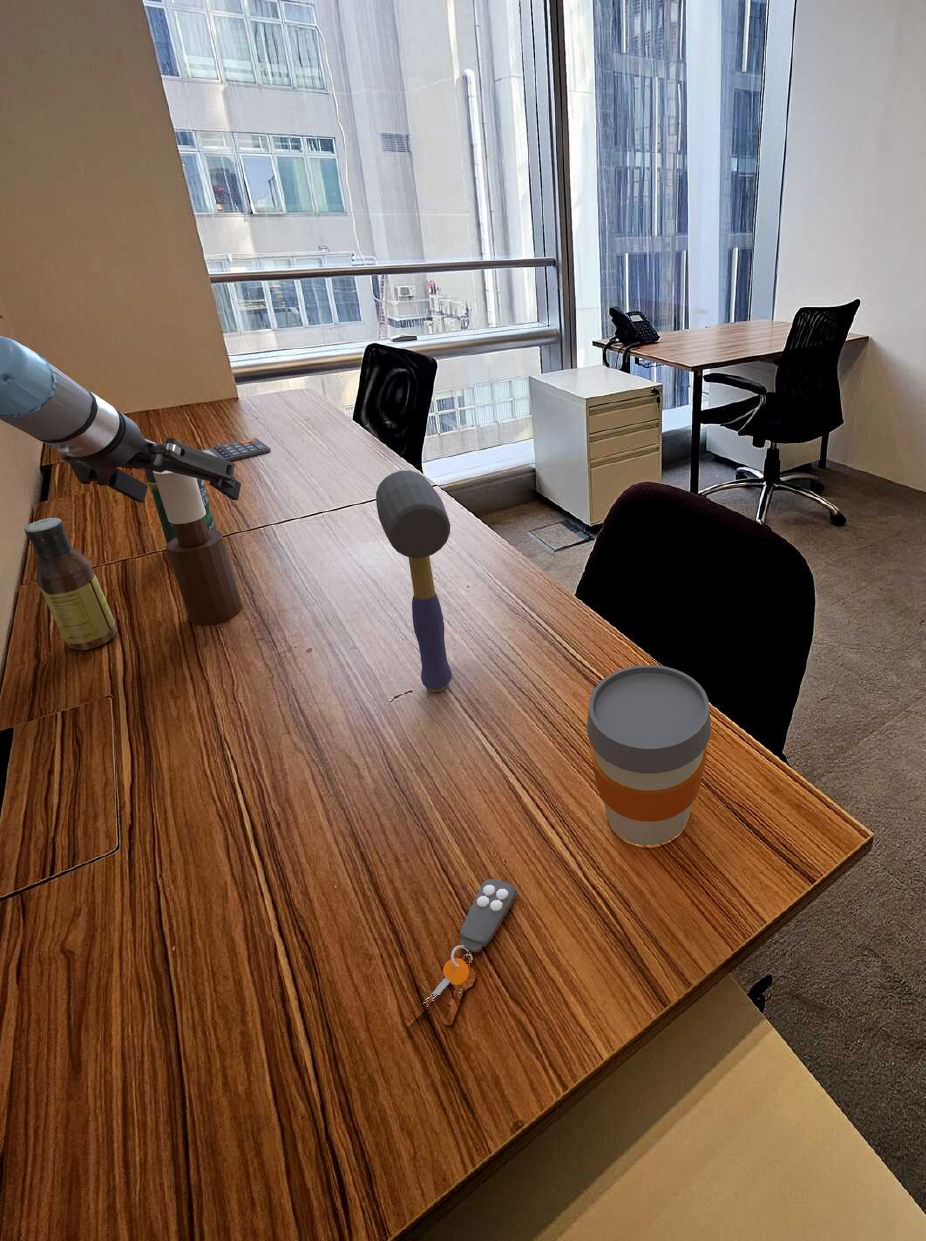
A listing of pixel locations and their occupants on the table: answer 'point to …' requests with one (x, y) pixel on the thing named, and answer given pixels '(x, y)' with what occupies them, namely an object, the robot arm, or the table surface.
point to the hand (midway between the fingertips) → (190, 493)
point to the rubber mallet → (419, 561)
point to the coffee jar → (166, 525)
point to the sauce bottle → (70, 587)
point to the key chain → (478, 928)
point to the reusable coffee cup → (648, 749)
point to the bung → (180, 497)
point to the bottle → (203, 573)
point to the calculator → (238, 449)
